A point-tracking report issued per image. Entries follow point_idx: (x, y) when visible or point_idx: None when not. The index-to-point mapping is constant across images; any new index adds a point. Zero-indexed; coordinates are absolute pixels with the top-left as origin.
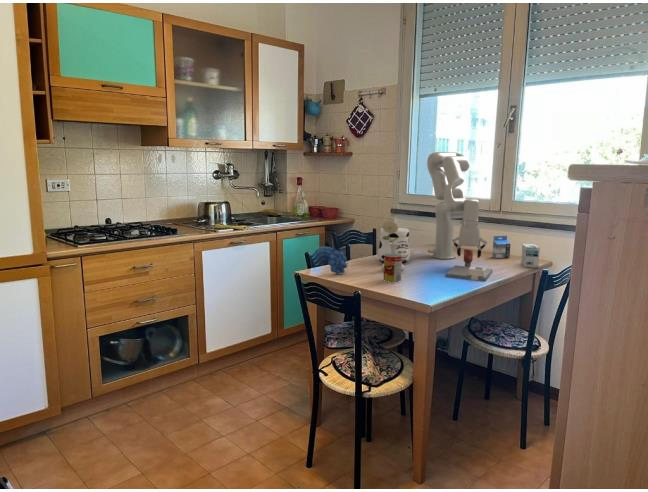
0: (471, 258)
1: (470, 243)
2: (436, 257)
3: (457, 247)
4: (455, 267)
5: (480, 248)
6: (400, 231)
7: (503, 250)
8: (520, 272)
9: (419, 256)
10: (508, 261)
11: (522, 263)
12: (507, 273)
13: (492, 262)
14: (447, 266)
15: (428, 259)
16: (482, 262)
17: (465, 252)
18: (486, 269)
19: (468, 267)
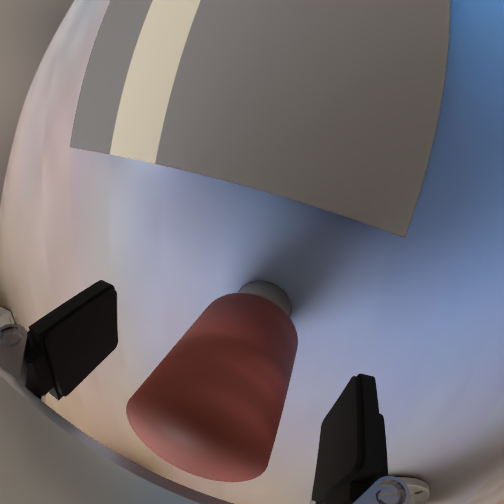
0: (193, 325)
1: (37, 477)
2: (423, 483)
3: (392, 496)
4: (413, 117)
5: (2, 341)
6: None
7: None
8: (2, 198)
9: (476, 482)
10: (77, 415)
11: None
12: (32, 147)
13: (120, 416)
14: (449, 301)
15: (473, 455)
16: None
17: (255, 395)
18: (103, 113)
19: (259, 143)
